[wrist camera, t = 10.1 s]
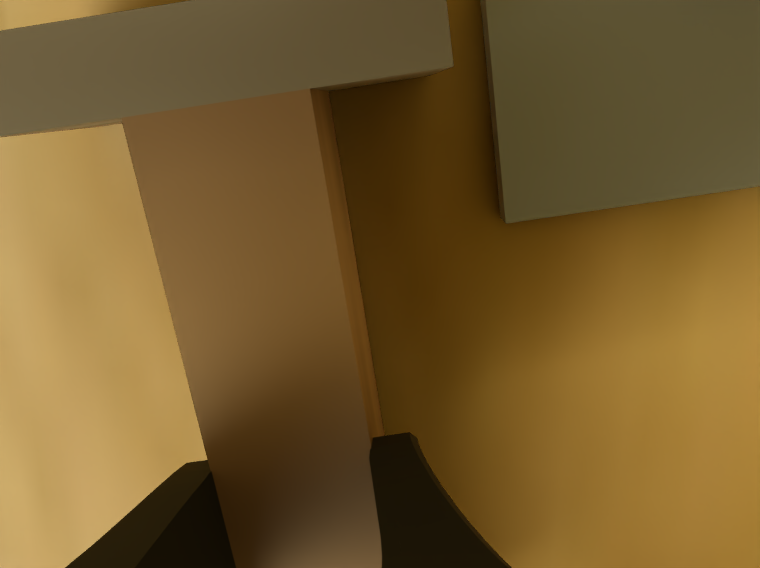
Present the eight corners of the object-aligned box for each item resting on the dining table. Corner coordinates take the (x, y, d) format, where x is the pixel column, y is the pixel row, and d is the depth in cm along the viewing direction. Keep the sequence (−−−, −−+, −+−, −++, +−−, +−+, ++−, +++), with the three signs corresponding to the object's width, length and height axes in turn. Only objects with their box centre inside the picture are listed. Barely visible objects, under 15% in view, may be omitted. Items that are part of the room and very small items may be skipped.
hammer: (495, 622, 15) (531, 779, 11) (236, 655, 15) (196, 819, 11) (421, 2, 11) (442, -40, 8) (77, 56, 11) (-51, 38, 8)
